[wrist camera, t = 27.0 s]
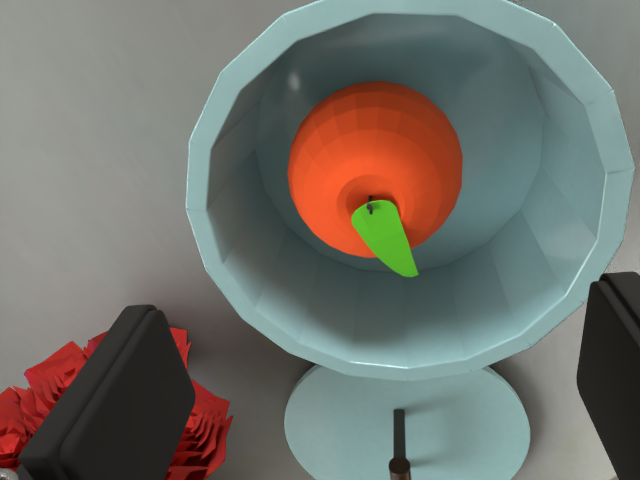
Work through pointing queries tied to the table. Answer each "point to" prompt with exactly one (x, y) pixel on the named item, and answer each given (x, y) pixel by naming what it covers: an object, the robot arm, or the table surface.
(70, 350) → the bouquet
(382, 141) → the clementine
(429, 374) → the pot
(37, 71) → the table surface
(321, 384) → the lid
